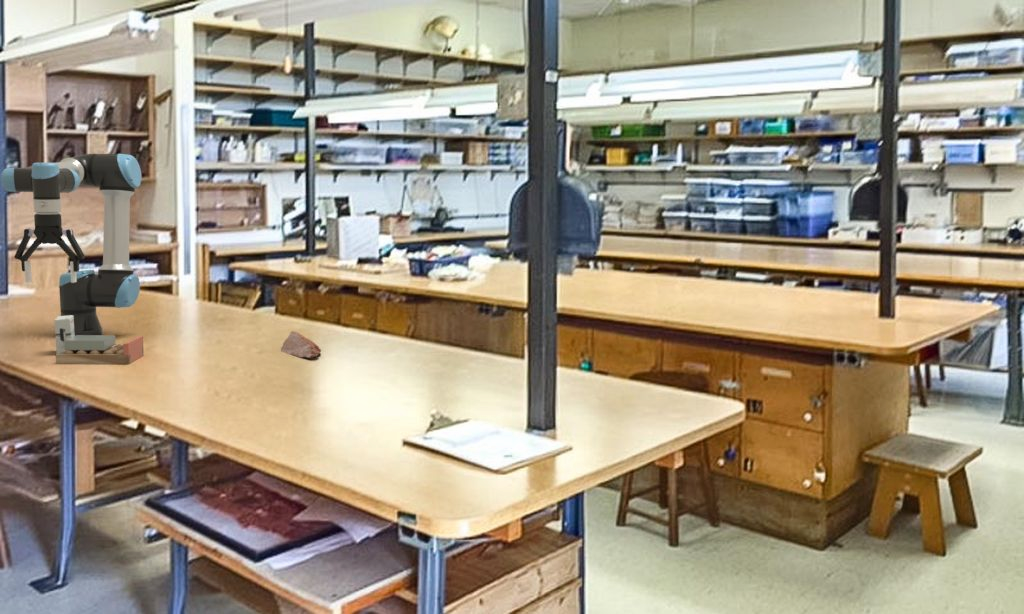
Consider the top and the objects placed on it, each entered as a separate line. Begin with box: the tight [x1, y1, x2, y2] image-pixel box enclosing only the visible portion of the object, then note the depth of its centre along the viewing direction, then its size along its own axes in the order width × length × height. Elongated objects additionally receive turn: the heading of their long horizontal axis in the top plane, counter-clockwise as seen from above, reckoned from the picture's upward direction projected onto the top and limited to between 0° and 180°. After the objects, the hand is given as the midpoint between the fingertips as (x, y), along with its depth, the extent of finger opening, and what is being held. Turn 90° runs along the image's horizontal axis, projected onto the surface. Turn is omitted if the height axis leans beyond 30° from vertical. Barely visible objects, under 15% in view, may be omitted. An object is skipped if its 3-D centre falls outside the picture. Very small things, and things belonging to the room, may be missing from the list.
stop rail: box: [122, 335, 144, 365], centre depth 313 cm, size 14×2×6 cm, turn 3°
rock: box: [280, 330, 322, 359], centre depth 329 cm, size 10×24×10 cm
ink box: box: [54, 315, 75, 354], centre depth 322 cm, size 8×5×12 cm, turn 17°
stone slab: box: [64, 334, 117, 350], centre depth 312 cm, size 10×12×3 cm
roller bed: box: [55, 343, 145, 365], centre depth 313 cm, size 14×22×4 cm, turn 93°
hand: (51, 282), depth 308 cm, fingers open, 13 cm apart
